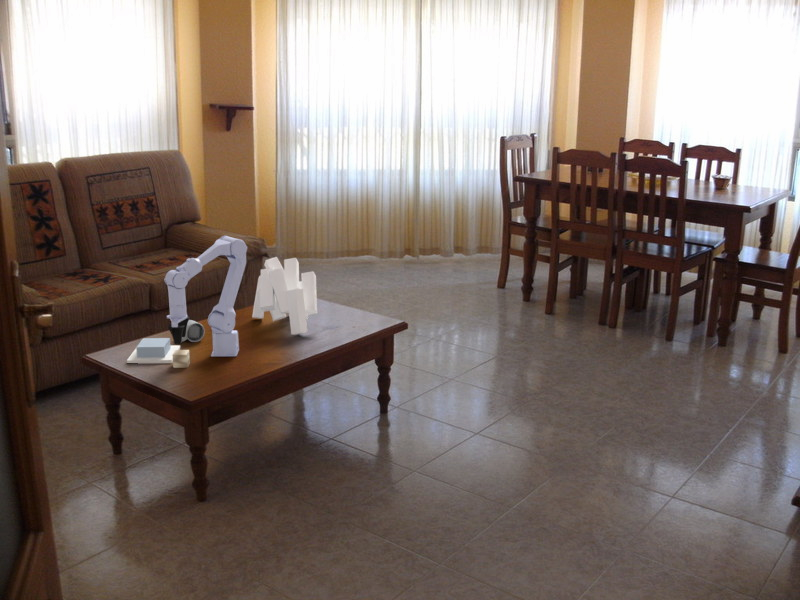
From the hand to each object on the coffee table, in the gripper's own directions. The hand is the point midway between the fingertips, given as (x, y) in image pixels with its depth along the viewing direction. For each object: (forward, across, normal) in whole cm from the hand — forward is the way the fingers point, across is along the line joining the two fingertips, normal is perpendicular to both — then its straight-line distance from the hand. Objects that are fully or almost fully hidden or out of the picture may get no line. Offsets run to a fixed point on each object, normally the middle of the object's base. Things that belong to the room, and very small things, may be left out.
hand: (180, 340), depth 297 cm
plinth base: (+9, -10, -12) cm, 18 cm away
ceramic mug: (+10, -28, -2) cm, 30 cm away
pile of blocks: (+10, -47, +34) cm, 59 cm away
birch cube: (+10, 0, 0) cm, 10 cm away
